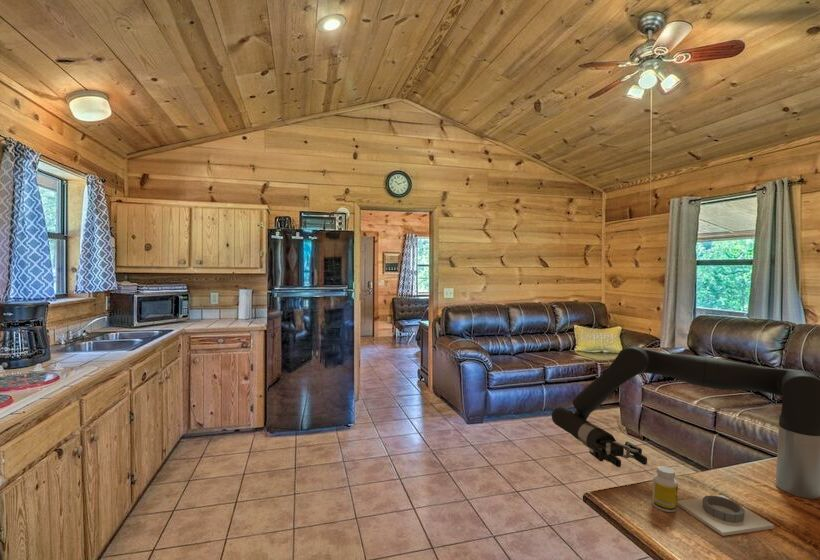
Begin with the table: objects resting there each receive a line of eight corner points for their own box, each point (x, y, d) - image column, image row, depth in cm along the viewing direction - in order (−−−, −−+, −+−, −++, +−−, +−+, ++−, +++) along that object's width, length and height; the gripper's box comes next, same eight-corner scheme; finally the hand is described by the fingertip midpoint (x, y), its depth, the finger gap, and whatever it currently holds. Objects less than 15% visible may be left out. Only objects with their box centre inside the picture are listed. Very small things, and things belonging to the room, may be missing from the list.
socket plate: (722, 498, 112) (723, 487, 112) (774, 528, 99) (774, 516, 99) (675, 503, 109) (676, 493, 109) (722, 535, 96) (723, 524, 96)
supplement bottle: (680, 514, 104) (682, 475, 104) (656, 511, 105) (658, 473, 105) (671, 502, 110) (673, 465, 109) (648, 499, 111) (650, 463, 110)
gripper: (576, 428, 132) (611, 451, 116) (615, 426, 135) (655, 448, 120) (575, 452, 133) (610, 478, 117) (614, 448, 136) (654, 473, 120)
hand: (633, 462), depth 118 cm, fingers open, 8 cm apart
